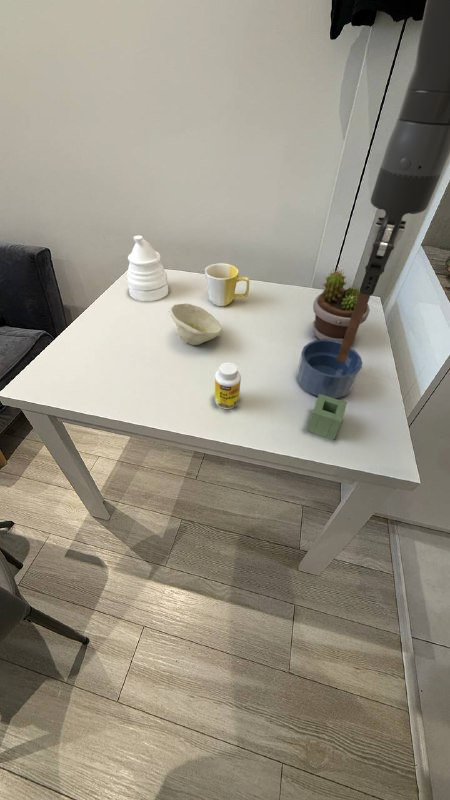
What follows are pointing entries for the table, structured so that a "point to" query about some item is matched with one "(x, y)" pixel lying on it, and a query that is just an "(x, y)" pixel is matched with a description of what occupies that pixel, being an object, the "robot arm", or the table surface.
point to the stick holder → (327, 416)
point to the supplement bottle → (227, 385)
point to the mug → (223, 283)
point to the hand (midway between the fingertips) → (366, 289)
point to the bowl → (195, 323)
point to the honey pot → (146, 272)
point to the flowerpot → (335, 308)
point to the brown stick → (353, 326)
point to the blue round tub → (327, 369)
